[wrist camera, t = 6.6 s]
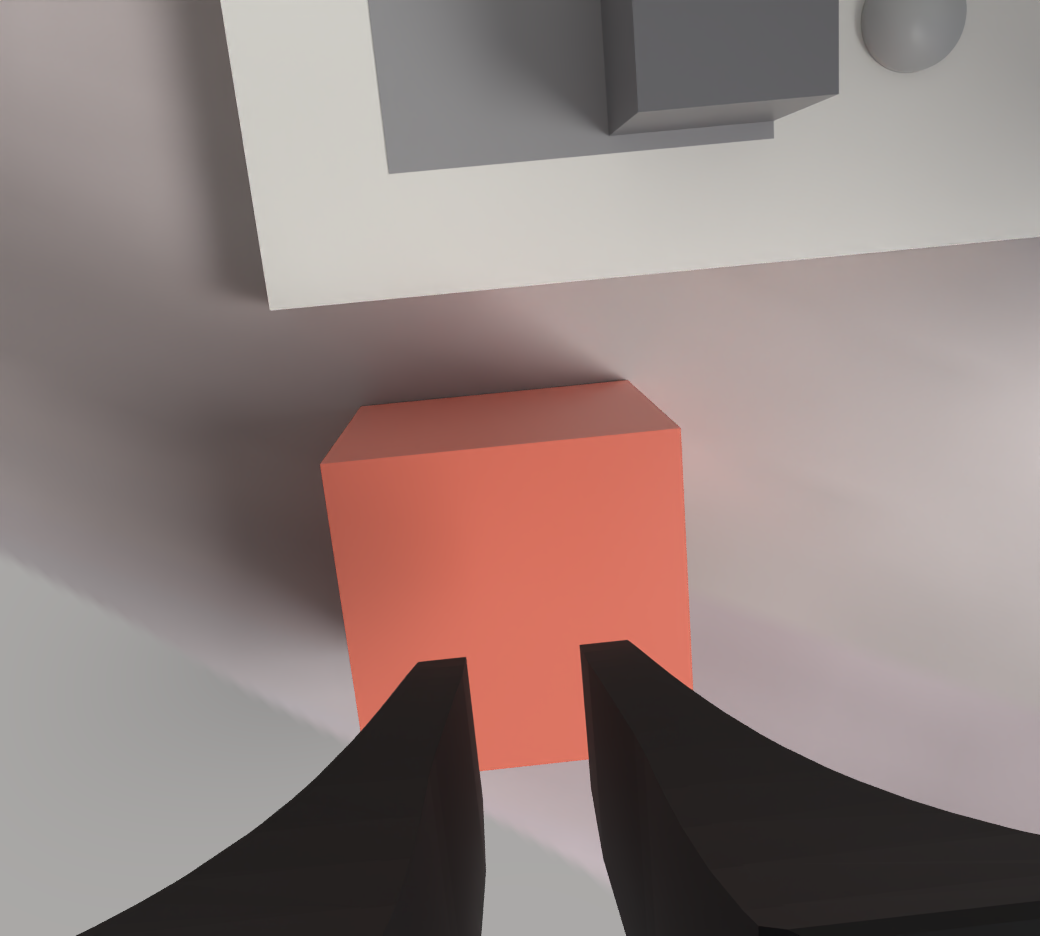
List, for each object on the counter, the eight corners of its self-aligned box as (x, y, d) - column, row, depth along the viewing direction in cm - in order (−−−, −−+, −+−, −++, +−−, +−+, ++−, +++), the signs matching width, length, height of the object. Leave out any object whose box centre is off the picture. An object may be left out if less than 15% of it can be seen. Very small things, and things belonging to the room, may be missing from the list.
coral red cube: (627, 379, 19) (680, 428, 14) (642, 625, 20) (695, 747, 15) (360, 406, 18) (319, 464, 14) (394, 651, 20) (368, 783, 15)
